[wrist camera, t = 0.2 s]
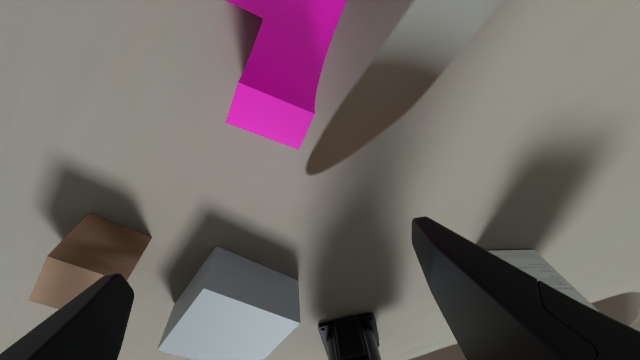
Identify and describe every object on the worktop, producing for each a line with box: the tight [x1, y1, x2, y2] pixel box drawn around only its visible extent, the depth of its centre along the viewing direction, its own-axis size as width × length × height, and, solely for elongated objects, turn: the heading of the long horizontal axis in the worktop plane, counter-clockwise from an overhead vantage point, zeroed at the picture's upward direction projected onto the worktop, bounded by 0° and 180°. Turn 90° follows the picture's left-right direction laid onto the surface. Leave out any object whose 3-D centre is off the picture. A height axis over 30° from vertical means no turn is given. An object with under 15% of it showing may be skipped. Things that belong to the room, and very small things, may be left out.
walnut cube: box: [29, 213, 152, 309], centre depth 24 cm, size 5×5×5 cm
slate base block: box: [157, 246, 300, 360], centre depth 28 cm, size 9×9×5 cm
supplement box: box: [489, 250, 599, 312], centre depth 27 cm, size 7×7×13 cm
